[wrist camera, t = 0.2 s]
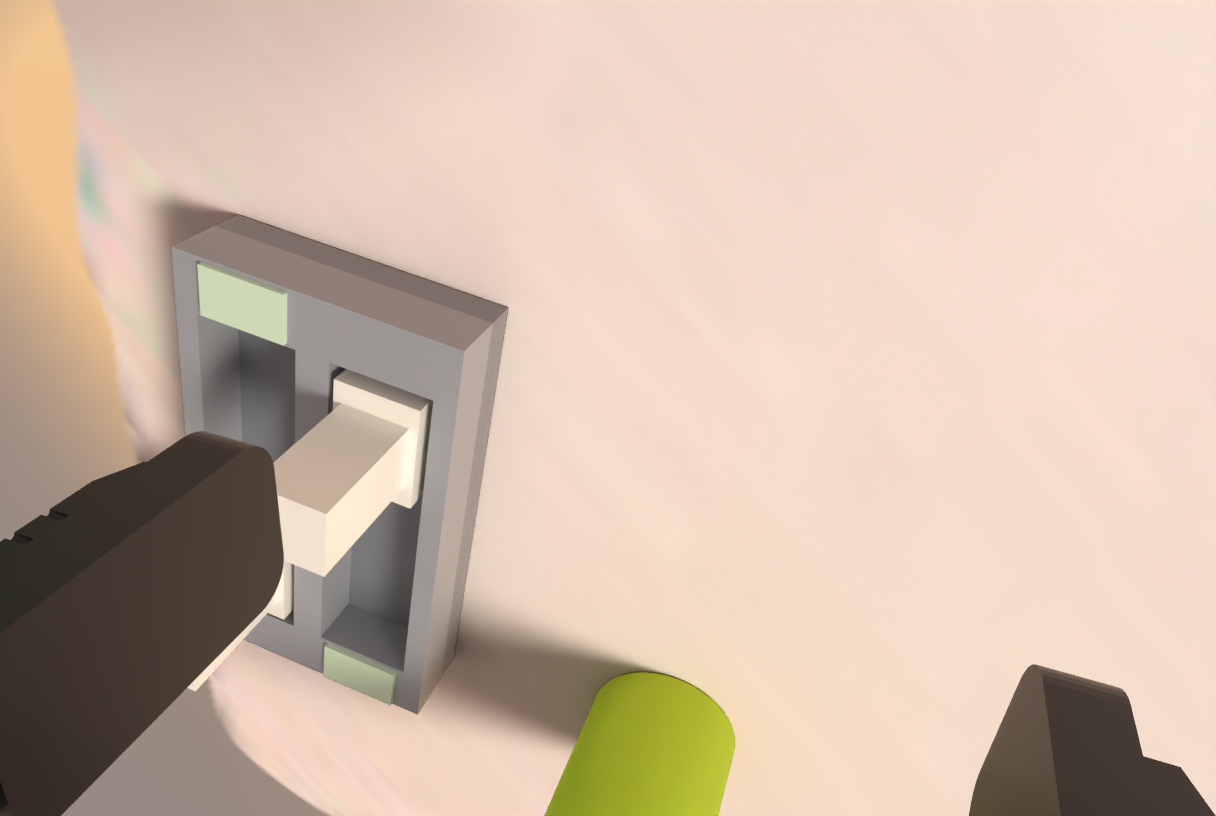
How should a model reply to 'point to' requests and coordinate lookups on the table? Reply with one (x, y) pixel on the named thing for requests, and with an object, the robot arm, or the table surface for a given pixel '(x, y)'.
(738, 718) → the table surface
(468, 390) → the switch bank
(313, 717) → the table surface
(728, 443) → the table surface
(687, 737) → the soap dispenser
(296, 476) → the tab
